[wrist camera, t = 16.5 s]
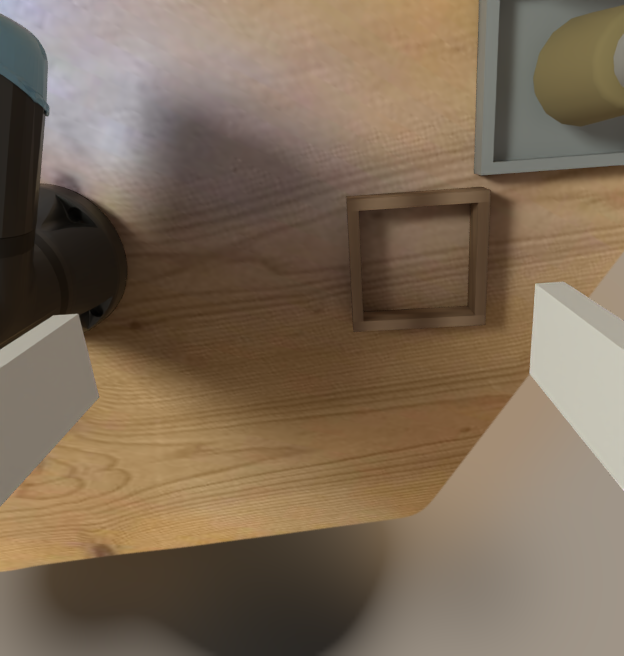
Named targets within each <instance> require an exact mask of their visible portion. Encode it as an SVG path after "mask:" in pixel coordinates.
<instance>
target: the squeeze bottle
mask: <svg viewBox="0 0 624 656" xmlns="http://www.w3.org/2000/svg"><path fill="white" fill-rule="evenodd" d="M533 83H534V92H535V95H536V97H537V99H538V101H539V102H540V104H541V106H542V107H543V109H544V111H545V113H546V114H548V115H549V116H551V117H552V118H554V119H555V120H557V121H558V122H560V123H561V124H566V125H573V126H580V127H581V126H585V125H589V124H593V123H596V122H600V121H604V120H608V119H611V118H615V117H619V116H622V115H624V5H621V6H617V7H613V8H608V9H604V10H600V11H596V12H592V13H589V14H585V15H582V16H578V17H575V18H571V19H570V20H569V21H568V22H566V23H565V24H564V25H562V26H561V27H560V28H558V29H557V30H556V31H554V32H553V33H552V35H551V36H550V38H549V39H548V41H547V42H546V44H545V45H544V47H543V48H542V50H541V51H540V53H539V56H538V60H537V64H536V68H535V72H534V76H533Z"/></svg>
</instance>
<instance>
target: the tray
mask: <svg viewBox="0 0 624 656" xmlns="http://www.w3.org/2000/svg"><path fill="white" fill-rule="evenodd" d="M621 5H624V0H479V22H478V56H477V90H476V124H475V158H474V173H475V174H478V175H492V174H506V173H519V172H533V171H547V170H561V169H574V168H588V167H602V166H615V165H624V115H622V116H619V117H615V118H611V119H608V120H604V121H600V122H596V123H593V124H589V125H585V126H581V127H580V126H573V125H566V124H561V123H560V122H558V121H557V120H555V119H554V118H552V117H551V116H549V115H548V114H546V113H545V111H544V109H543V107H542V106H541V104H540V102H539V101H538V99H537V97H536V95H535V92H534V83H533V76H534V72H535V68H536V64H537V60H538V56H539V53H540V51H541V50H542V48H543V47H544V45H545V44H546V42H547V41H548V39H549V38H550V36H551V35H552V33H553V32H554V31H556V30H557V29H558V28H560V27H561V26H562V25H564V24H565V23H566V22H568V21H569V20H570V19H571V18H575V17H578V16H582V15H585V14H589V13H592V12H596V11H600V10H604V9H608V8H613V7H617V6H621Z"/></svg>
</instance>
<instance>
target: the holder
mask: <svg viewBox="0 0 624 656" xmlns="http://www.w3.org/2000/svg"><path fill="white" fill-rule="evenodd" d="M490 195H491V190H489V189H487V188H484V187H472V188H458V189H444V190H430V191H416V192H402V193H388V194H374V195H360V196H346V198H347V217H348V237H349V256H350V275H351V295H352V314H353V330H354V332H361V331H380V330H399V329H418V328H437V327H456V326H475V325H485V319H486V294H487V269H488V245H489V220H490ZM464 203H470V238H469V275H468V306H457V307H439V308H421V309H403V310H385V311H367V312H363V298H362V275H361V253H360V230H359V211H364V210H378V209H392V208H407V207H421V206H436V205H450V204H464Z"/></svg>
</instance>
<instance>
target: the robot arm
mask: <svg viewBox="0 0 624 656" xmlns="http://www.w3.org/2000/svg"><path fill="white" fill-rule="evenodd" d="M47 74H48V61H47V56H46V53H45V50H44V48H43V47H42V45H41V44H40V42H39V40H38V39H37V38H36V37H35V36H34V35H33V34H32V33H31V32H30V31H28V30H27V29H26V28H24V27H23V26H22V25H20V24H18V23H17V22H15V21H13V20H12V19H10V18H8V17H6V16H4V15H2V14H0V506H1V505H2V504H3V503H4V502H5V501H6V500H7V499H8V498H9V496H10V495H11V494H12V493H13V492H14V491H15V490H16V489H17V488H18V486H19V485H20V484H21V483H22V482H23V481H24V480H25V479H26V478H27V476H28V475H29V474H30V473H31V472H32V471H33V470H34V469H35V468H36V467H37V465H38V464H39V463H40V462H41V461H42V460H43V459H44V458H45V457H46V455H47V454H48V453H49V452H50V451H51V450H52V449H53V448H54V447H55V446H56V444H57V443H58V442H59V441H60V440H61V439H62V438H63V437H64V436H65V434H66V433H67V432H68V431H69V430H70V429H71V428H72V427H73V426H74V424H75V423H76V422H77V421H78V420H79V419H80V418H81V417H82V416H83V415H84V413H85V412H86V411H87V410H88V409H89V408H90V407H91V406H92V405H93V403H94V402H95V401H96V400H97V399H98V398H99V394H98V390H97V386H96V382H95V378H94V374H93V370H92V366H91V362H90V358H89V354H88V350H87V346H86V342H85V338H84V334H83V332H86V331H88V330H90V329H92V328H93V327H95V326H96V325H97V324H99V323H100V322H101V321H102V320H104V319H105V318H106V317H107V316H109V315H110V314H111V312H112V311H113V310H114V309H115V308H116V306H117V305H118V303H119V301H120V299H121V297H122V295H123V292H124V289H125V285H126V279H127V263H126V256H125V252H124V249H123V245H122V243H121V240H120V238H119V236H118V234H117V232H116V230H115V229H114V227H113V225H112V224H111V223H110V221H109V220H108V219H107V217H106V216H105V215H104V214H103V213H102V212H101V211H100V210H99V209H98V208H97V207H96V206H95V205H94V204H92V203H91V202H90V201H89V200H87V199H86V198H84V197H83V196H81V195H79V194H77V193H75V192H73V191H71V190H69V189H66V188H63V187H60V186H56V185H51V184H40V175H41V163H42V151H43V139H44V126H45V116H49V106H48V104H47ZM530 375H531V376H532V377H533V379H534V380H535V381H536V382H537V384H538V385H539V386H540V387H541V389H542V390H543V391H544V392H545V393H546V395H547V396H548V397H549V399H550V400H551V401H552V402H553V404H554V405H555V406H556V407H557V409H558V410H559V411H560V412H561V414H562V415H563V416H564V417H565V419H566V420H567V421H568V422H569V423H570V425H571V426H572V427H573V429H574V430H575V431H576V432H577V434H578V435H579V436H580V437H581V438H582V440H583V441H584V442H585V443H586V445H587V446H588V447H589V448H590V450H591V451H592V452H593V453H594V455H595V456H596V457H597V458H598V460H599V461H600V462H601V463H602V465H603V466H604V467H605V468H606V470H607V471H608V472H609V473H610V475H611V476H612V477H613V478H614V480H615V481H616V482H617V483H618V484H619V486H620V487H621V488H622V490H623V491H624V320H622V319H620V318H619V317H617V316H616V315H614V314H613V313H611V312H610V311H608V310H607V309H605V308H604V307H602V306H600V305H599V304H597V303H596V302H594V301H593V300H591V299H590V298H588V297H587V296H585V295H584V294H582V293H581V292H579V291H577V290H576V289H574V288H573V287H571V286H570V285H568V284H567V283H565V282H551V283H536V284H535V298H534V313H533V328H532V344H531V359H530Z"/></svg>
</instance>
